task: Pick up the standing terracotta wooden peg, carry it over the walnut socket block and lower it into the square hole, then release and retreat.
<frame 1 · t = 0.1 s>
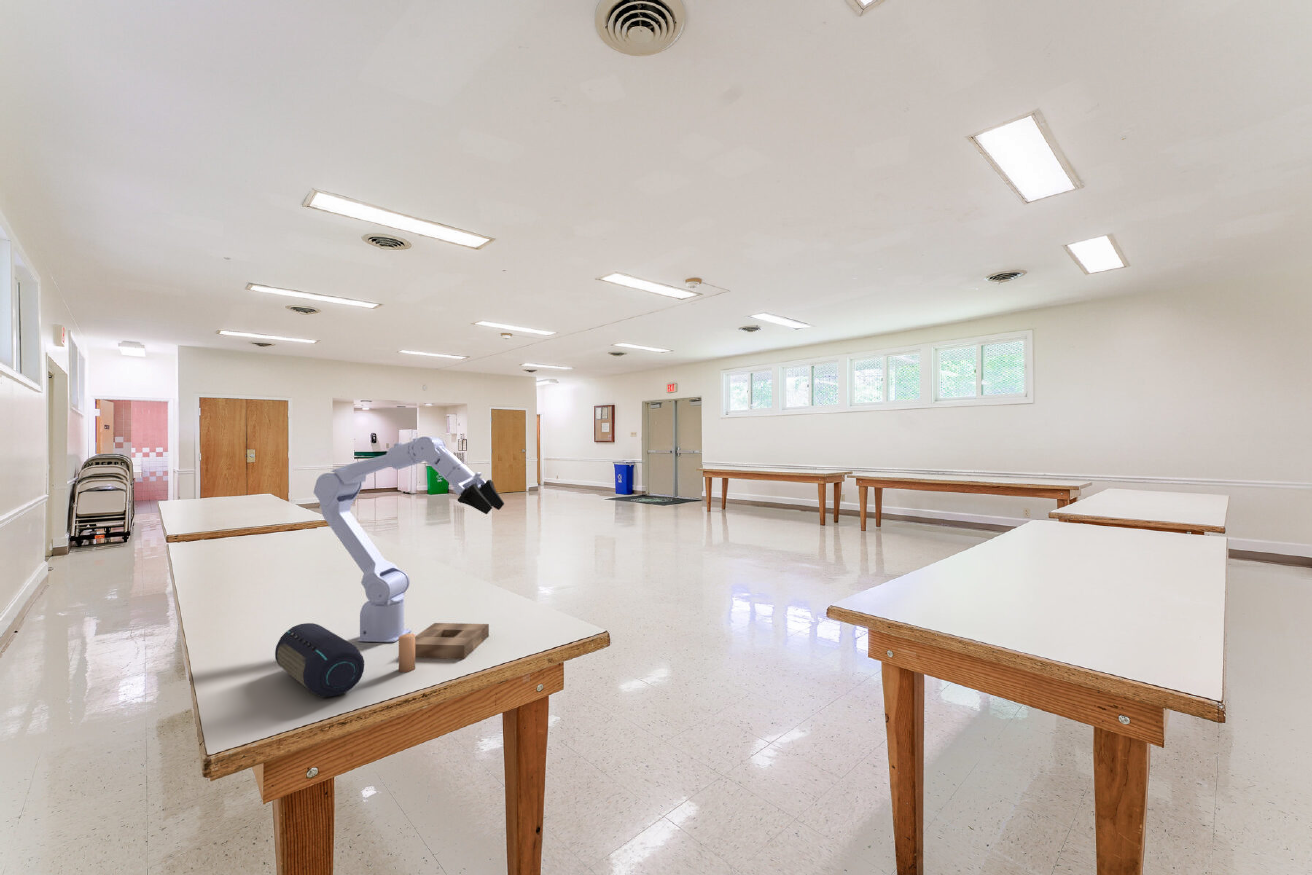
hand: (495, 508, 131), 32 cm above the table, fingers open, 7 cm apart
peg: (407, 668, 114), on the table
socket block: (448, 646, 127), on the table
portable speaker: (317, 683, 109), on the table
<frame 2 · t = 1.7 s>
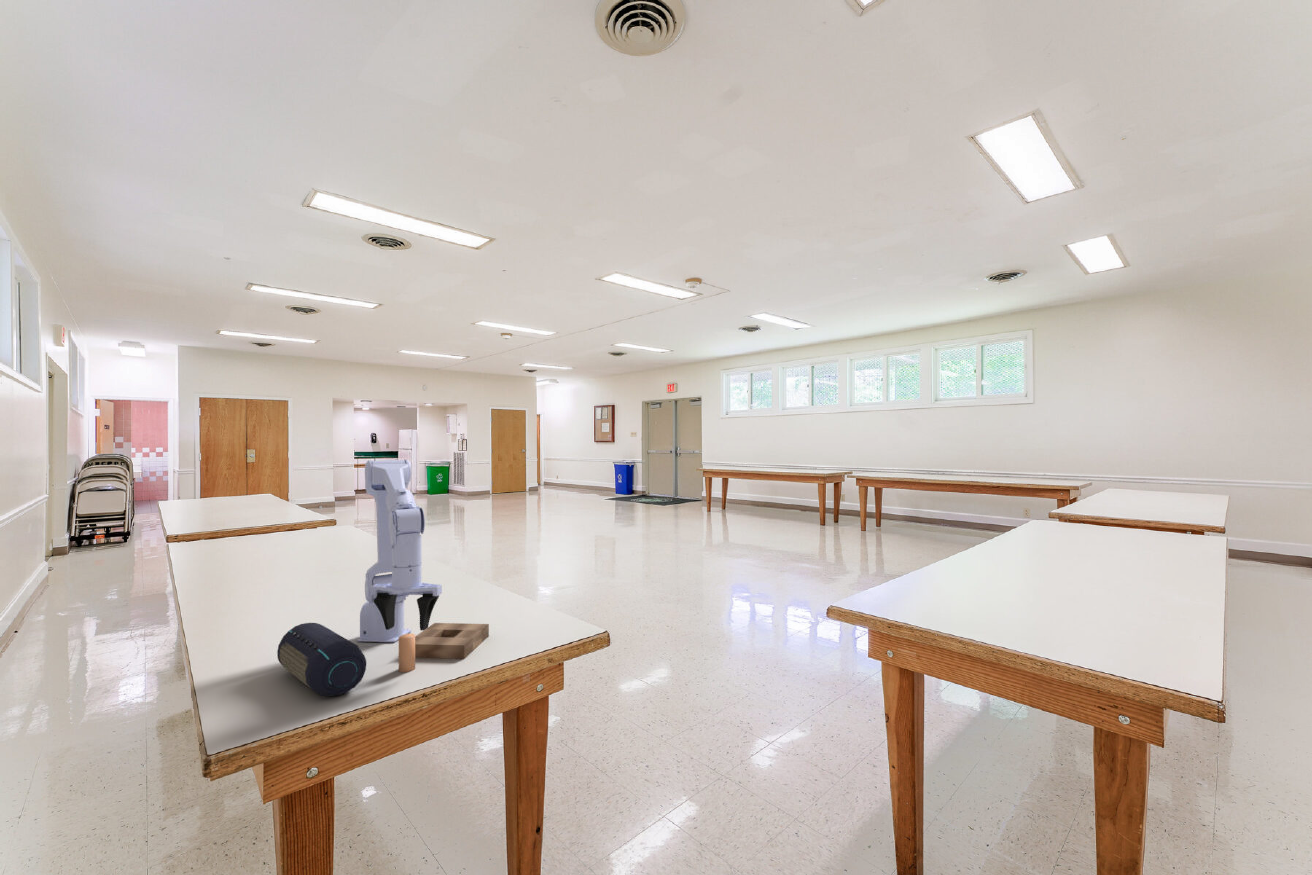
hand: (407, 628, 114), 9 cm above the table, fingers open, 7 cm apart
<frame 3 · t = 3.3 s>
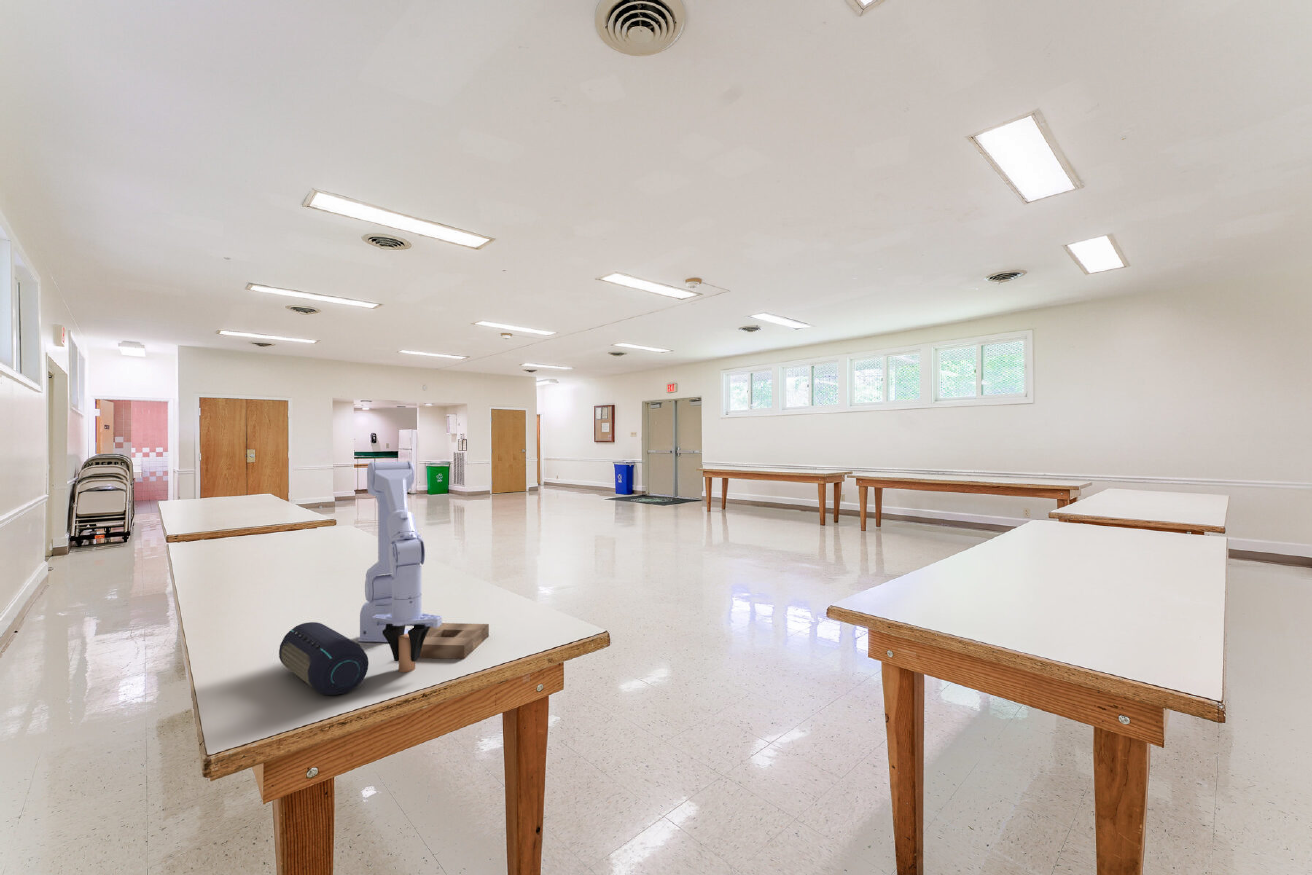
hand: (407, 659, 114), 2 cm above the table, fingers closed on peg, 3 cm apart
peg: (407, 668, 114), on the table, touching gripper
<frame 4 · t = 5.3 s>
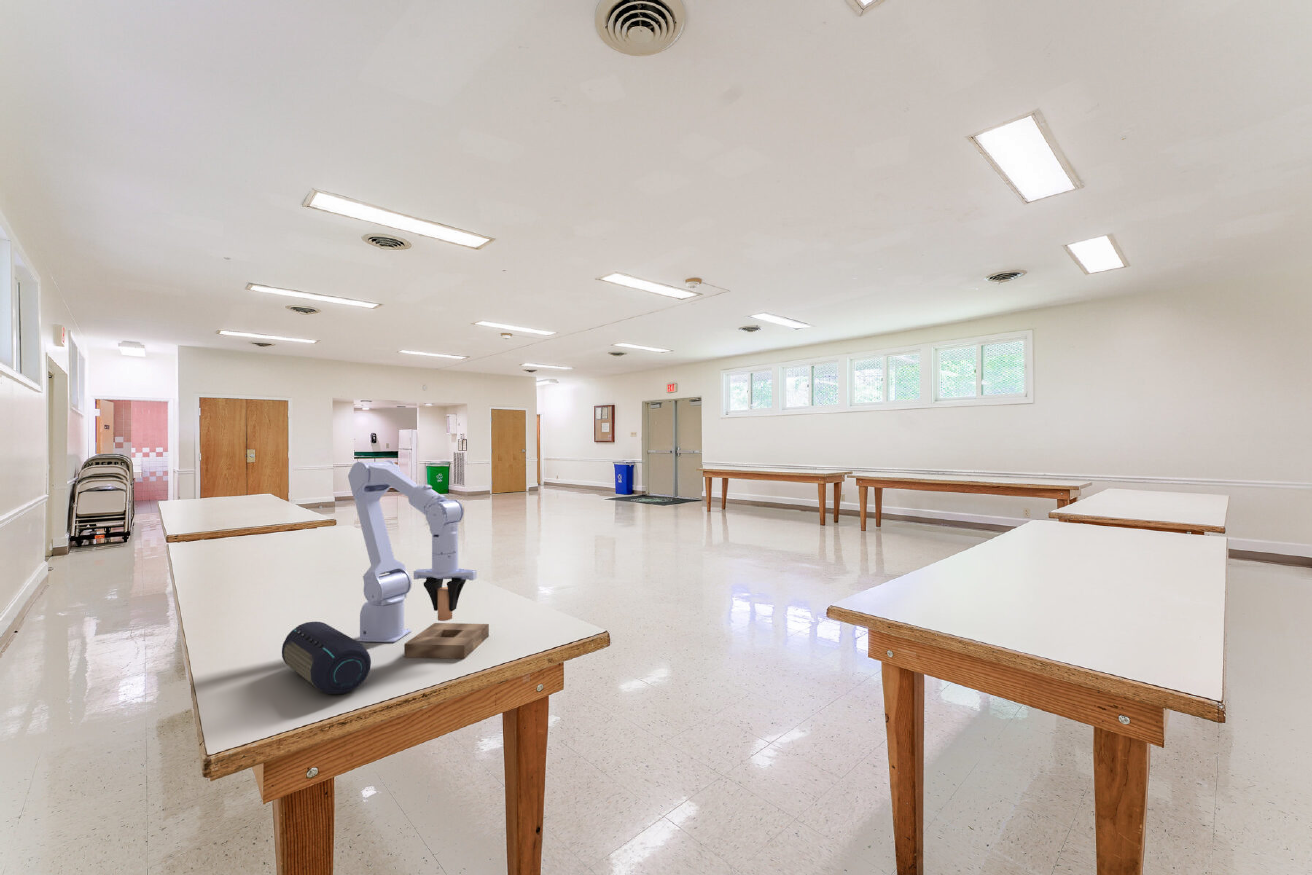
hand: (445, 609, 126), 9 cm above the table, fingers closed on peg, 3 cm apart
peg: (445, 618, 126), point 7 cm above the table, touching gripper
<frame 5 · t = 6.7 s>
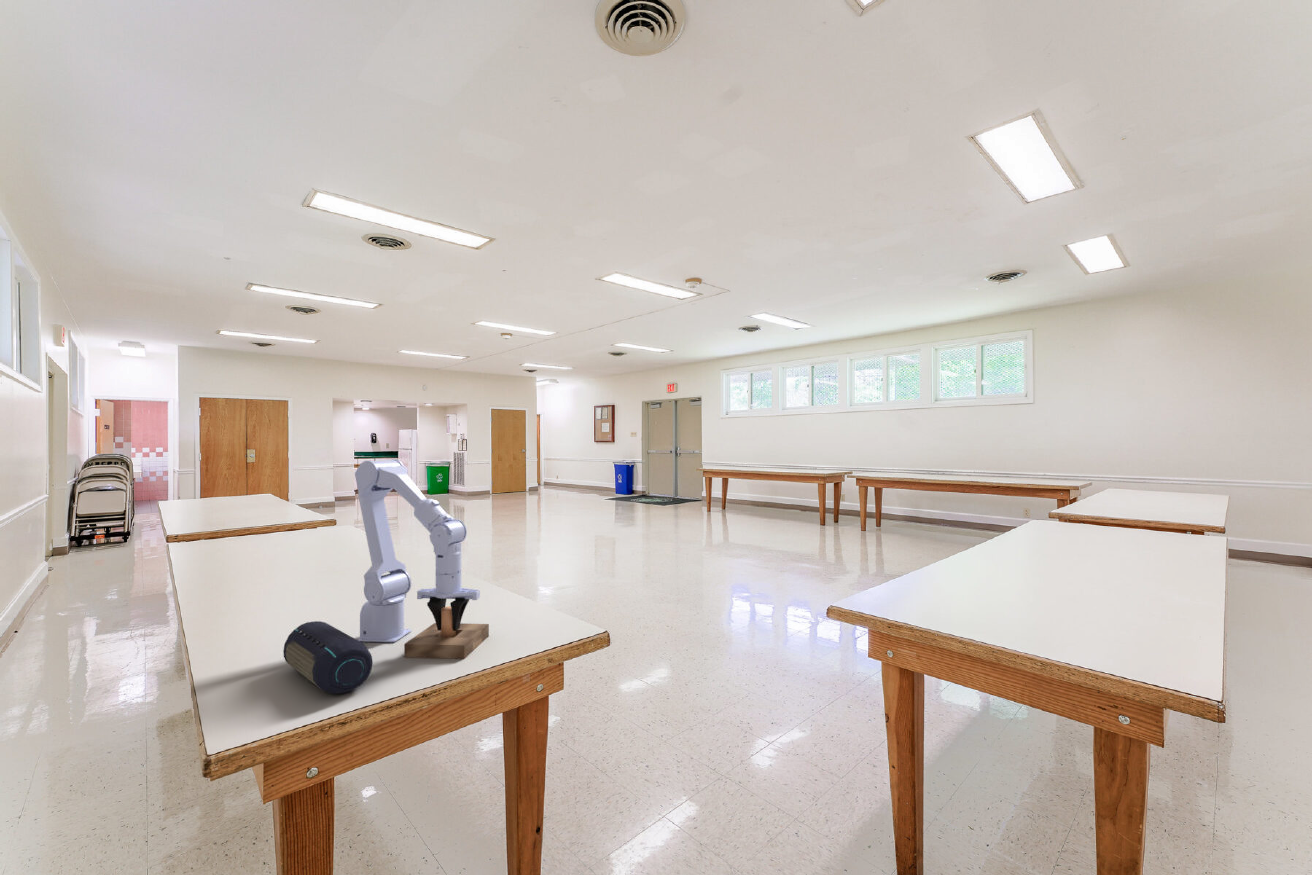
hand: (448, 629, 127), 4 cm above the table, fingers closed on peg, 3 cm apart
peg: (448, 637, 127), point 2 cm above the table, touching gripper
when the fingers open (4 cm above the table, at t = 7.6 s): peg drops 2 cm, resting in socket block.
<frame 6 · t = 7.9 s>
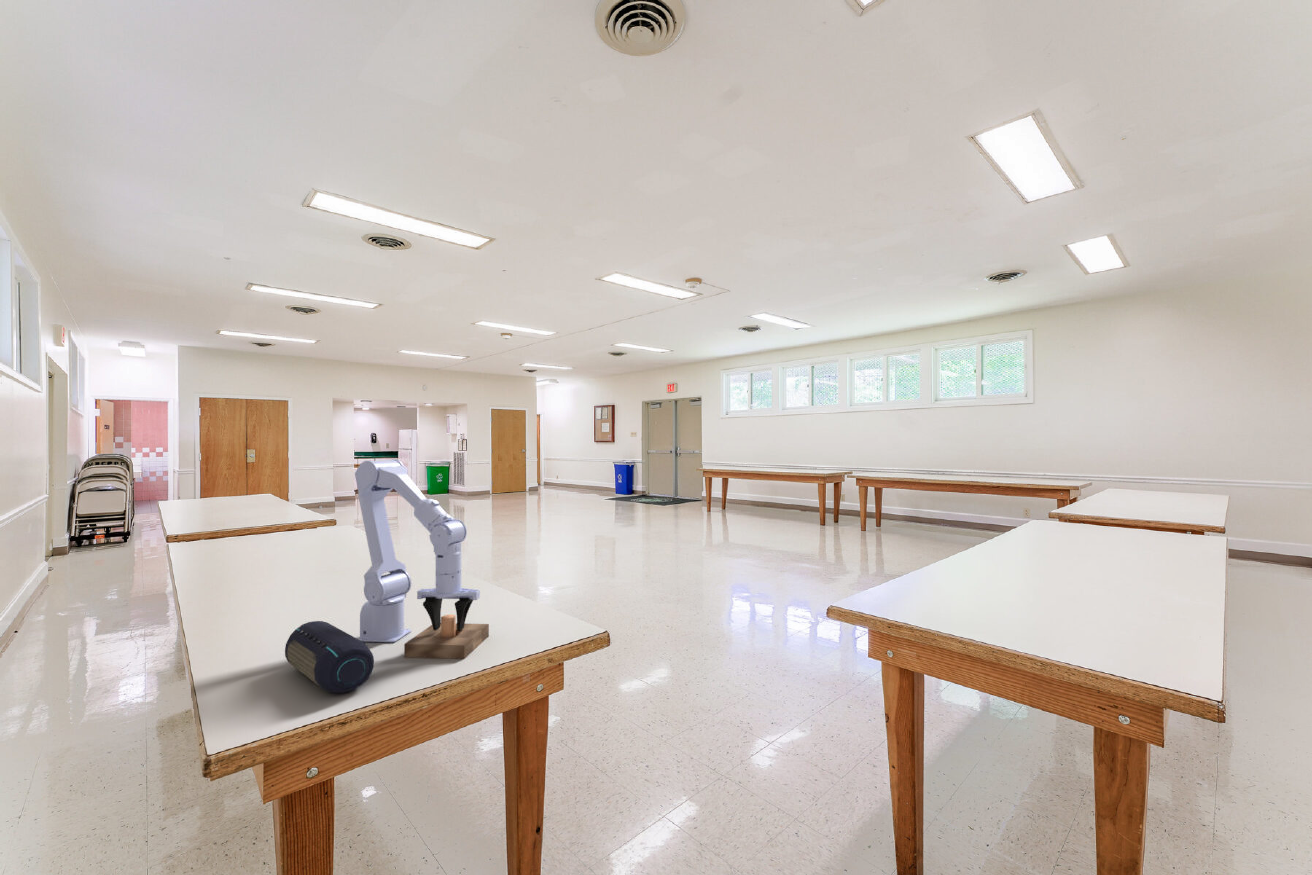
hand: (448, 629, 127), 4 cm above the table, fingers open, 5 cm apart
peg: (448, 646, 127), resting in socket block
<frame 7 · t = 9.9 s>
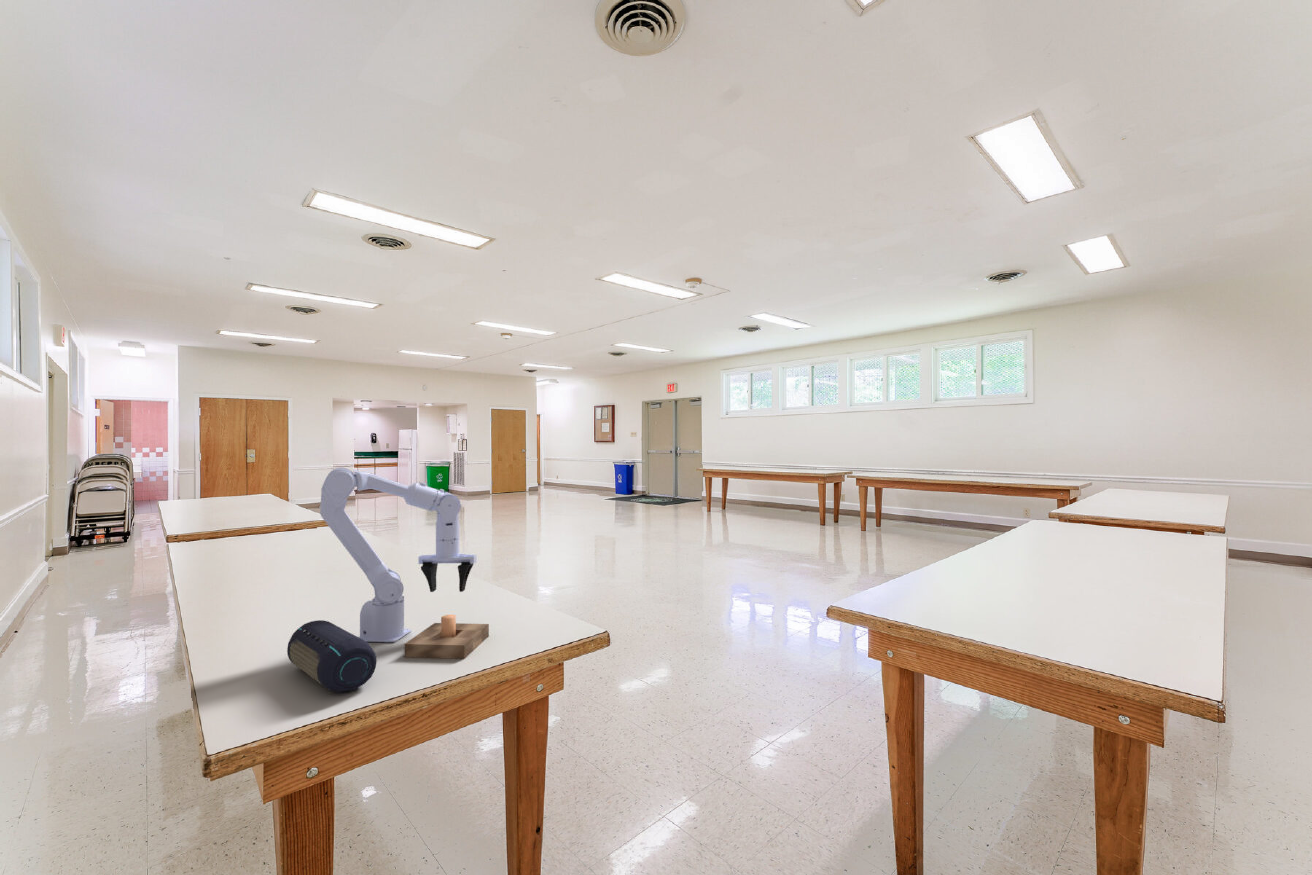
hand: (447, 590, 141), 9 cm above the table, fingers open, 7 cm apart
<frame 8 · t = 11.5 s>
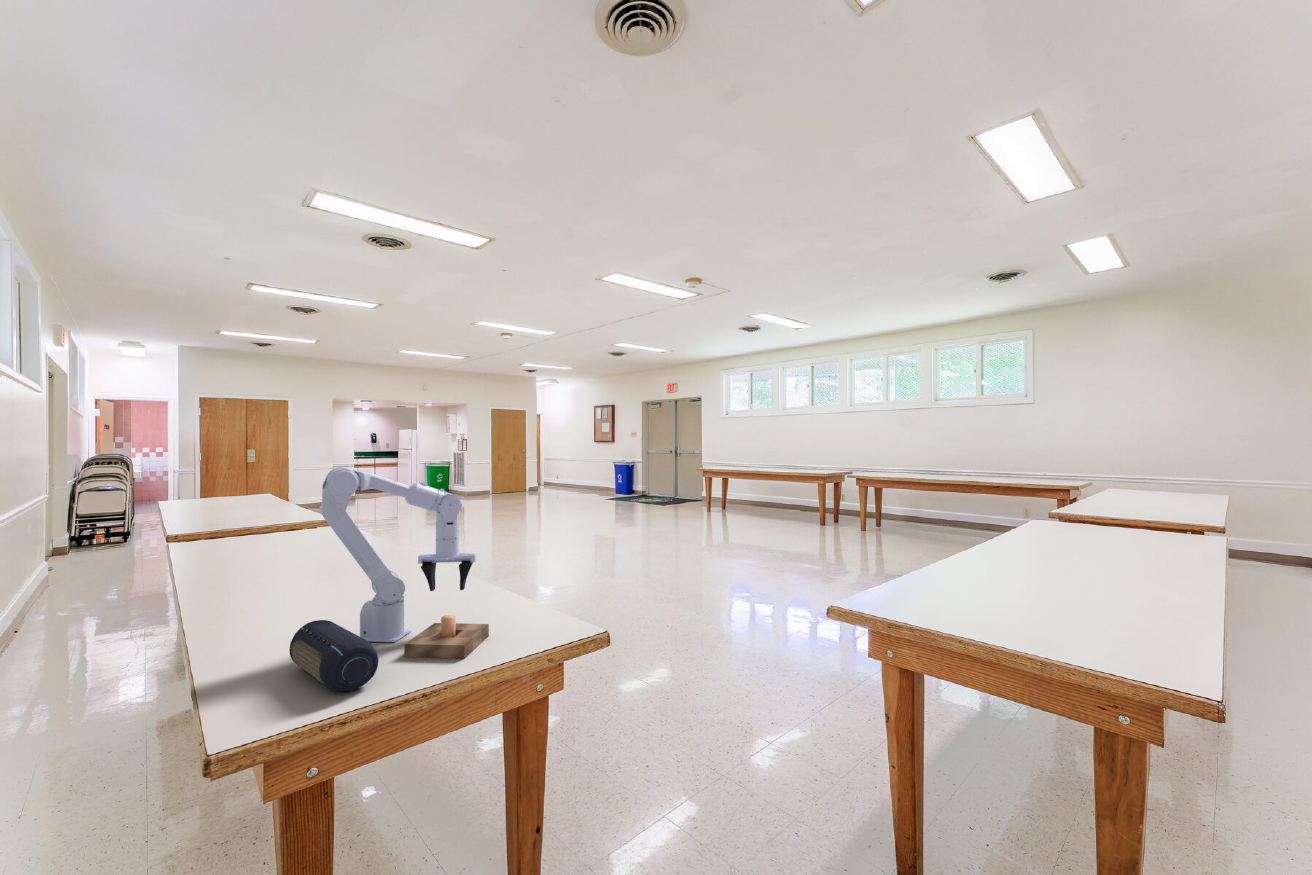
hand: (447, 589, 142), 9 cm above the table, fingers open, 7 cm apart
at the end: peg 0.1 cm off-centre on the socket block, point 0.0 cm above the socket block's base; peg tilted 0°; the gripper is holding nothing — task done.
